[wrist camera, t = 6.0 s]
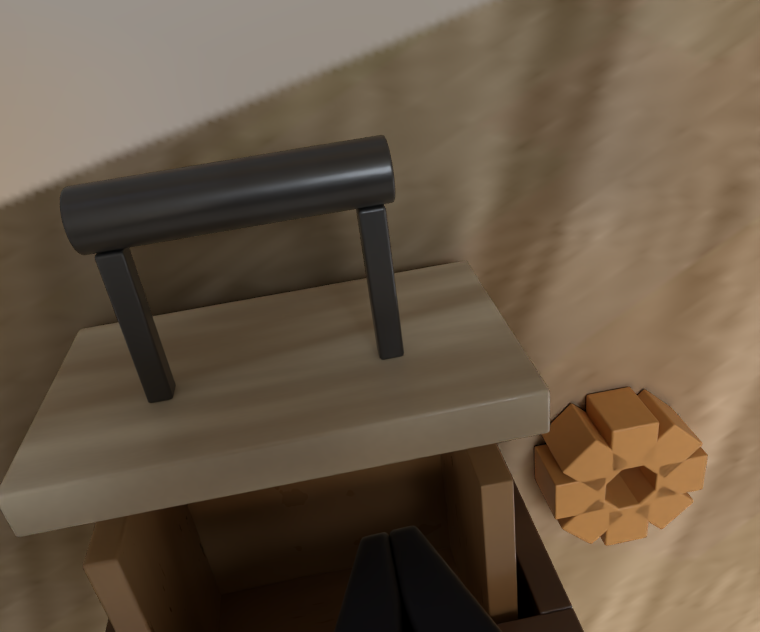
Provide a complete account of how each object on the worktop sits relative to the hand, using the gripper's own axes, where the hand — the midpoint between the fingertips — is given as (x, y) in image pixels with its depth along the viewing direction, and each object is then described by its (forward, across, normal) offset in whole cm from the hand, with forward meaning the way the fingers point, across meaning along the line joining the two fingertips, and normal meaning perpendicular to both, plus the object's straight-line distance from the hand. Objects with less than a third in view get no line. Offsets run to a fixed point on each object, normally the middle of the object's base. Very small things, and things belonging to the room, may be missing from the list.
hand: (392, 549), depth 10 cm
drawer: (+11, +2, +4) cm, 12 cm away
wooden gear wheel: (+12, -9, +11) cm, 18 cm away
